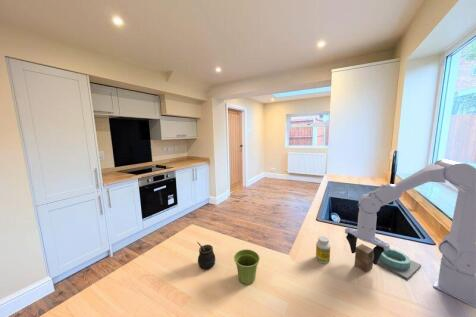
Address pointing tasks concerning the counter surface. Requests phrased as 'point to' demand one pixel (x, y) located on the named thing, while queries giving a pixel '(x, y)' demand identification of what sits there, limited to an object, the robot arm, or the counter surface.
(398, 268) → the collar
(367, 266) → the walnut peg
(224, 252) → the counter surface
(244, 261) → the plant pot
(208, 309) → the counter surface
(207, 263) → the mate gourd
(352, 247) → the robot arm
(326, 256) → the supplement bottle
